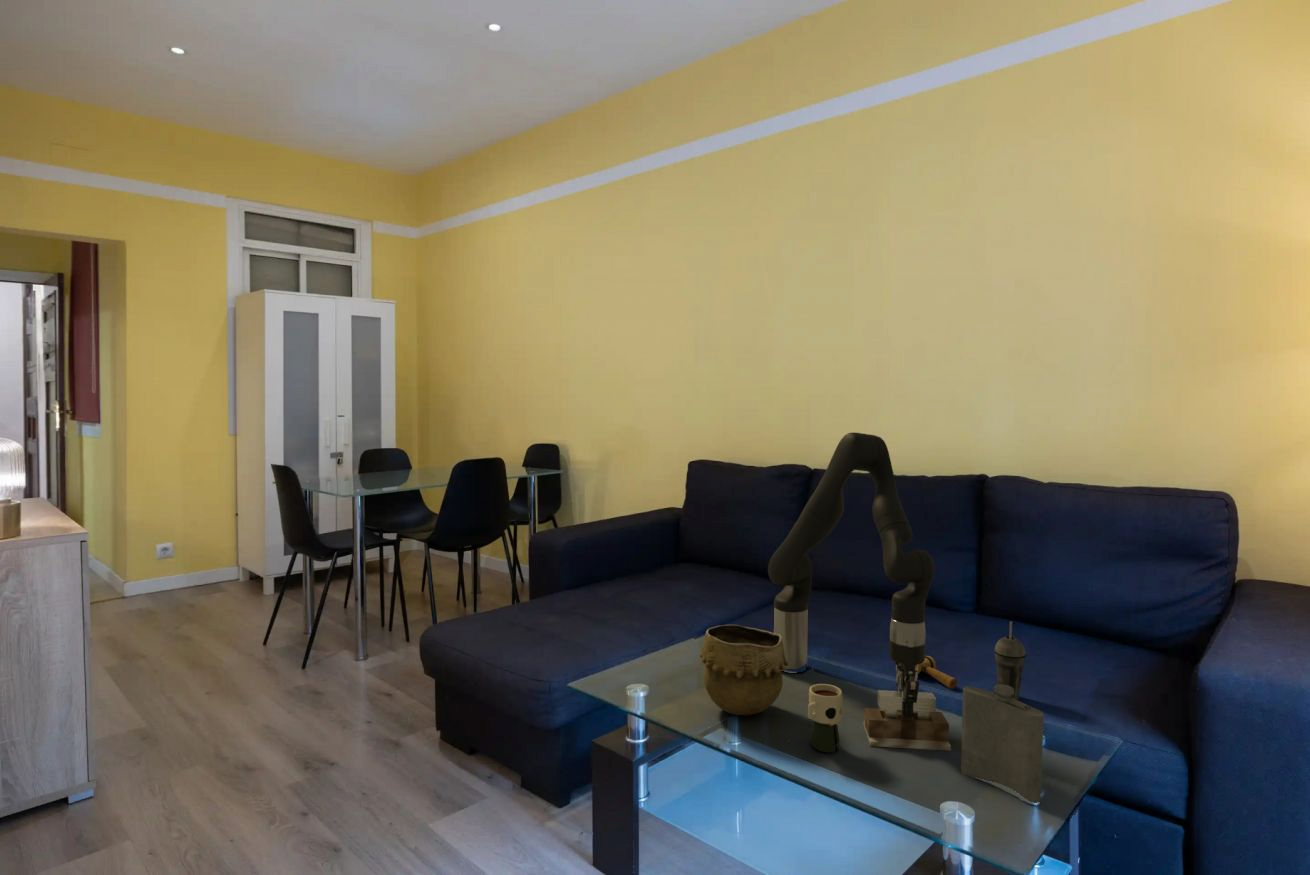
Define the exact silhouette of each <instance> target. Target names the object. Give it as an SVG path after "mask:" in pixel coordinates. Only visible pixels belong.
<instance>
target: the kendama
mask: <svg viewBox="0 0 1310 875" xmlns="http://www.w3.org/2000/svg"><path fill="white" fill-rule="evenodd" d="M915 670H917V672H918V675H919V674H920V673H921V672H922V673H923V674H926V675H930V676H931V677H932V678H933V679H935V680H937V681H938V682H940V683H941V684H943V685H944V686H946V687H947V688H948V689H950V690H953V689H955V688H956V687H957V684H958V679H957V678H955V677H952V676H950V675H949V674H946V673H944V672H942V671H939V670H938V669H937V663H936V661H935V659H934V658H933V657H932V656H930V655H925V661H924V662H923V663H921V664H917V665H916V666H915Z"/></svg>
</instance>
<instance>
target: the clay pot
mask: <svg viewBox="0 0 1310 875" xmlns="http://www.w3.org/2000/svg"><path fill="white" fill-rule="evenodd" d="M701 648H702V649H701V651H700V653H699V657H700V659H701V661H702V663H703V664H705V668H704V669H705V670H704V676H703V677H704V678H703V680H704V686H705V690H706V692H707V694H708V697H710V699H711V700H712V702H713V703H714V704H715V705H716V706H717V707H718V708H719V709H721V710H722V711H724V712H726V713H728V714H730V715H734V716H735V715H736V716H753V715H755V714H759V713H761V712H764V711H765V710H768V708H769V707H770V706H772V705H773V704H774V703H775V701H776V700H777V699H778V697H779V696H780V694H781V692H782V689H783V682H784V681H783V675H782V674H783V672H781V670H782V671H784V670H785V666H788V664H789V663H788V662H787V661H786V658H785V654H784V646H783V641H782V637H781V635H780V634H774V632H771V631H768V630H763V629H759V628H754V627H747V626H743V625H739V624H722V625H721V624H720V625H717V626H712V627H710V628H708V629H706V631H705V635H704V639H703V644H702V647H701Z"/></svg>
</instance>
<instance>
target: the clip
mask: <svg viewBox="0 0 1310 875" xmlns="http://www.w3.org/2000/svg"><path fill="white" fill-rule="evenodd" d="M909 696H910V695H909ZM902 702H903V700H902V691H898V690H882V689H881V690H880V689H878V690H877V705H878V709H884V713H883V718H886V719H896V718H897V710H902ZM913 711H915V720H923V721H929V712H937V698H936V696H935V695H934V693H933V692H926V691H925V692H922V691H920V692H919V691H918V696H917V702H916V703H913Z"/></svg>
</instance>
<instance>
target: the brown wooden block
mask: <svg viewBox="0 0 1310 875" xmlns="http://www.w3.org/2000/svg"><path fill="white" fill-rule="evenodd" d="M883 713H884V709H880V708H876V707H875V708H874V707H873V708H872V707H864V720H863V721H862V722H863V728H864V731H865V735H866V736H867V740H868V743H869V746H870V747H882V748H883V747H884V748H885V747H886V748H901V749H916V750H919V749H920V750H935V751H936V750H937V751H949V752H951V751H952V746H951V744H950V742H949V736H950V735H949V731H950V730H949V729H950V726H949V725H950V724H949V722H948V720H947V719H946V717H945V715H944V713H943V711H936V712H929V721H923V720H915V711H913V717H912V718H904V717H903V715H902V710H897V718H896V719H886V718H883Z"/></svg>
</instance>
